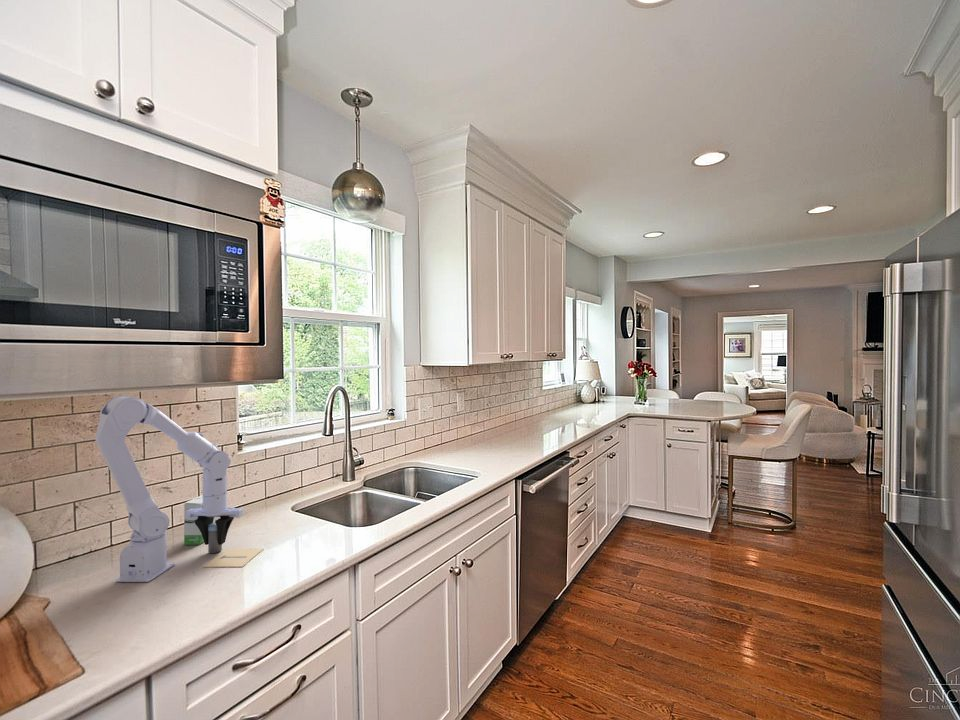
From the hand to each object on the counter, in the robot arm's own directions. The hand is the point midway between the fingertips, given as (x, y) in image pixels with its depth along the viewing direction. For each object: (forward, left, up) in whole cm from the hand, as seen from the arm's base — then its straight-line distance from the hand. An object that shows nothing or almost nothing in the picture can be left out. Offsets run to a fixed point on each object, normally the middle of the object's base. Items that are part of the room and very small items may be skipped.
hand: (215, 543), depth 127 cm
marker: (0, 0, -2) cm, 2 cm away
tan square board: (-4, -8, -2) cm, 9 cm away
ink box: (+9, +9, -3) cm, 13 cm away
